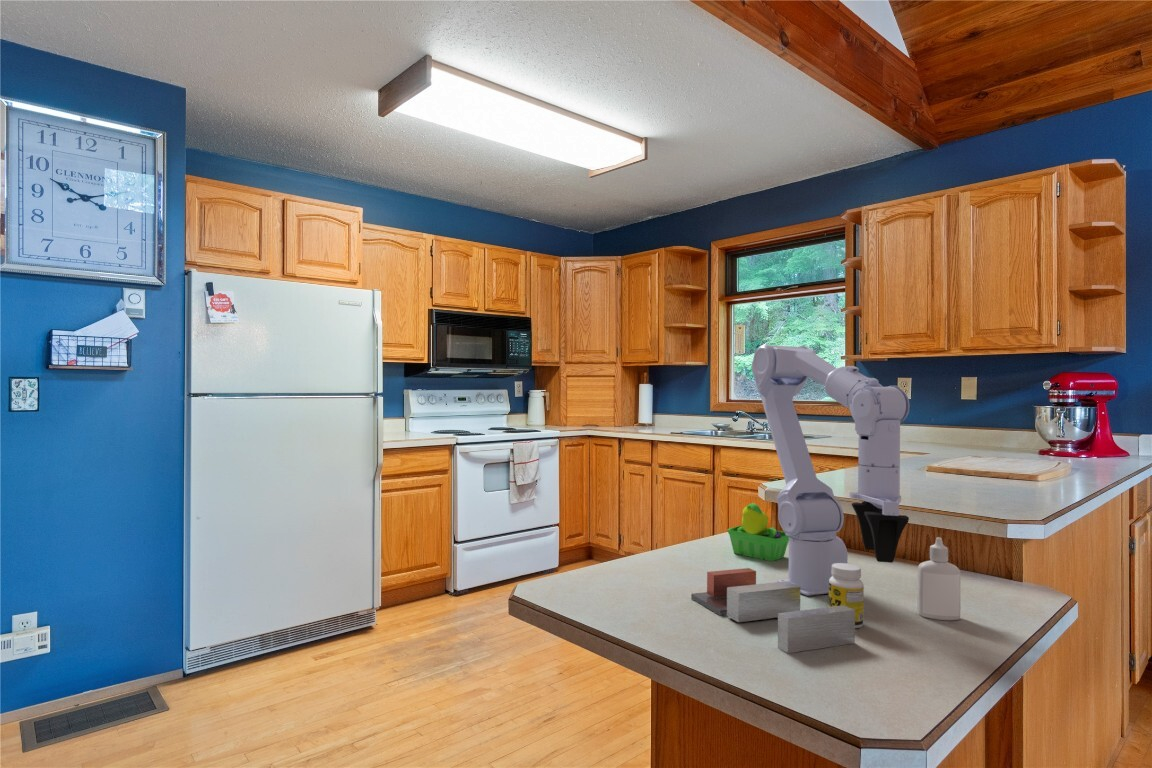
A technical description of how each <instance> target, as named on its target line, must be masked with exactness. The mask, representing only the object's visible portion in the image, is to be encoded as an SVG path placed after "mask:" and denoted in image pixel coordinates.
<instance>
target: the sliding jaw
mask: <svg viewBox="0 0 1152 768" xmlns="http://www.w3.org/2000/svg"><path fill="white" fill-rule="evenodd" d="M706 574H707V575H706V592H707V594H709V595H711V596H712V597H720V596H727V615H726V617H729V618H730V619H732V620H734V621H735V622H737V623H744V622H752V621H759V620H767V619H775V618H777V619H778V613H785V612H793V611H801V593H800V588H801V587H800V586H798V585H795V584H793V583H791V582H788V581H784V582H778V581H776V582H765V583H758V584H757V571H756V570H755V569H752V568H749V567H744V568H735V569H723V570H713V571H707V572H706Z"/></svg>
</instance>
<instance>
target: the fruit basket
mask: <svg viewBox="0 0 1152 768" xmlns="http://www.w3.org/2000/svg"><path fill="white" fill-rule="evenodd" d="M768 524H769V517H768V515H767V514H766V513H765V512H764V511H763V510H762V509H761V507H760V506H759V505H758V504H757V503H752V502H751V503H749V504H747V505H746V506H745V507H744V508H743V509H742V517H741V525H738V526H737V525H736V526H734V527H730V528H727V532H728V535H729V539H730V543H731V546H732V551H733V553H734V554H735V553H736V554H737V555H740V554H741V555H742V556H744V557H750V558H755V559H760V560H765V561H769V562H774V561H778V560H780V559H781V558H784V557H785V555H786V551H787V547H788V545H789V536H787V535H785V532H784V531H781V530H777V529H775V528H774V527H773V526H770V527H768ZM736 554H735V555H736Z"/></svg>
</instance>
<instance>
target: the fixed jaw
mask: <svg viewBox="0 0 1152 768" xmlns="http://www.w3.org/2000/svg"><path fill="white" fill-rule="evenodd" d="M855 631H856V628H855V610H854V609H852V608H850V607H847V606H845V605H842V606H834V607H829V606H828V607H827V606H826V607H820V608H819V607H818V608H811V609H803V610H801V609H800V611H793V612H785V613H778V617H777V648H778V649H780V650H781V651H783V652H785V653H786V654H790V653H791V654H793V653H798V652H804V651H811V650H817V649H825V648H831V647H839V646H845V645H846V646H847V645H852V644H855V642H856V641H855V640H856V638H855V636H856V632H855Z"/></svg>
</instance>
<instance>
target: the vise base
mask: <svg viewBox="0 0 1152 768" xmlns="http://www.w3.org/2000/svg"><path fill="white" fill-rule="evenodd" d="M690 596H691V597H690V598H691V600H693V601H694V602H696V603H698V604H699V605H701V606H703V607H704V608H706V609H708V610H710V611H711V612H714V613H715V614H716V615H719V616H720V617H721V616H727V596H720V597H712V596H711V595H709V594H707V591H705V592H695V593H691V595H690Z"/></svg>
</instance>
